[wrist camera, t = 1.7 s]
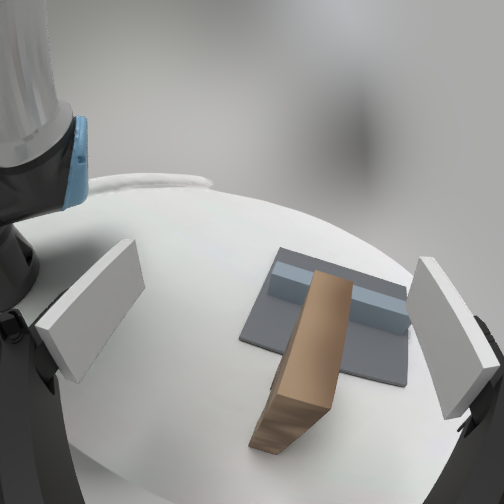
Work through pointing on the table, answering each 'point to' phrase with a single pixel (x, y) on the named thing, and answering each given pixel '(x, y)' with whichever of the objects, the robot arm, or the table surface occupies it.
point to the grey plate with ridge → (359, 323)
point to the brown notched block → (307, 365)
